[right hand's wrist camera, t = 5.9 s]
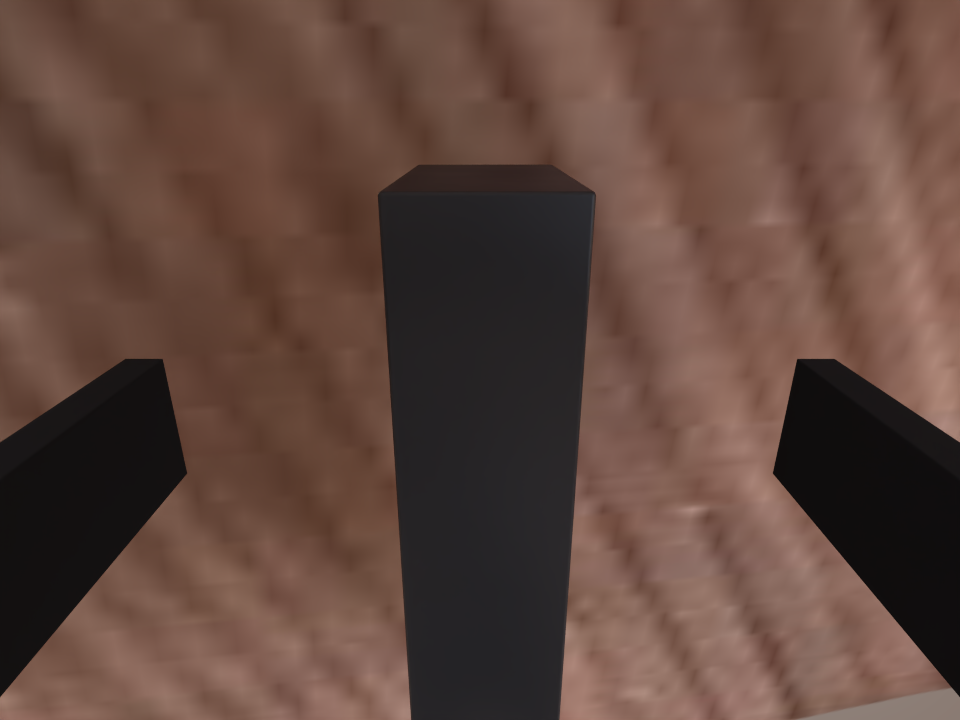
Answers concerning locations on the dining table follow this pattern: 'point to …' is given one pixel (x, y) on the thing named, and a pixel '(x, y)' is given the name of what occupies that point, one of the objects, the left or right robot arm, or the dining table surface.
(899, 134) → the dining table surface
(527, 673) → the bar
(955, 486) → the right robot arm
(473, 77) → the dining table surface
